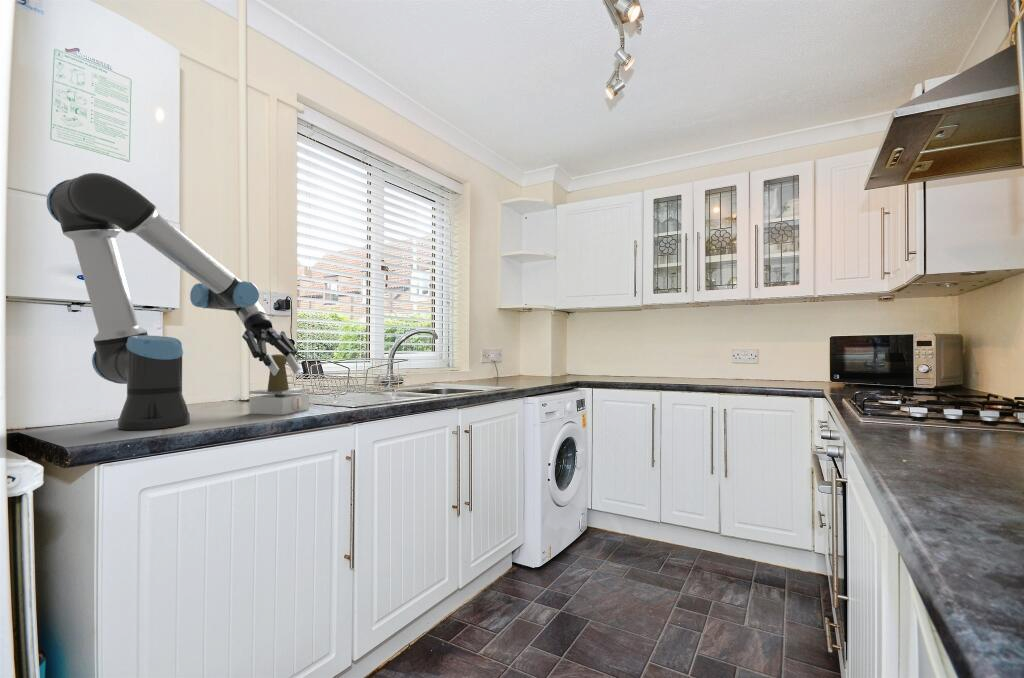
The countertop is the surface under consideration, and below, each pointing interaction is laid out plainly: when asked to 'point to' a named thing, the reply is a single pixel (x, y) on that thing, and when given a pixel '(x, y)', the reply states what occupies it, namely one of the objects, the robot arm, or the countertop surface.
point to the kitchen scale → (278, 404)
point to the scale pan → (281, 392)
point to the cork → (278, 375)
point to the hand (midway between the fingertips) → (287, 371)
